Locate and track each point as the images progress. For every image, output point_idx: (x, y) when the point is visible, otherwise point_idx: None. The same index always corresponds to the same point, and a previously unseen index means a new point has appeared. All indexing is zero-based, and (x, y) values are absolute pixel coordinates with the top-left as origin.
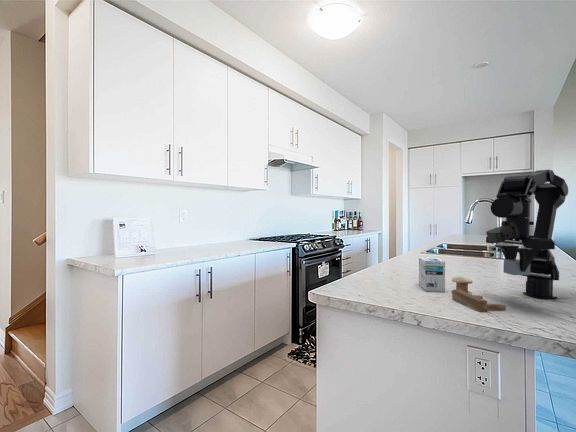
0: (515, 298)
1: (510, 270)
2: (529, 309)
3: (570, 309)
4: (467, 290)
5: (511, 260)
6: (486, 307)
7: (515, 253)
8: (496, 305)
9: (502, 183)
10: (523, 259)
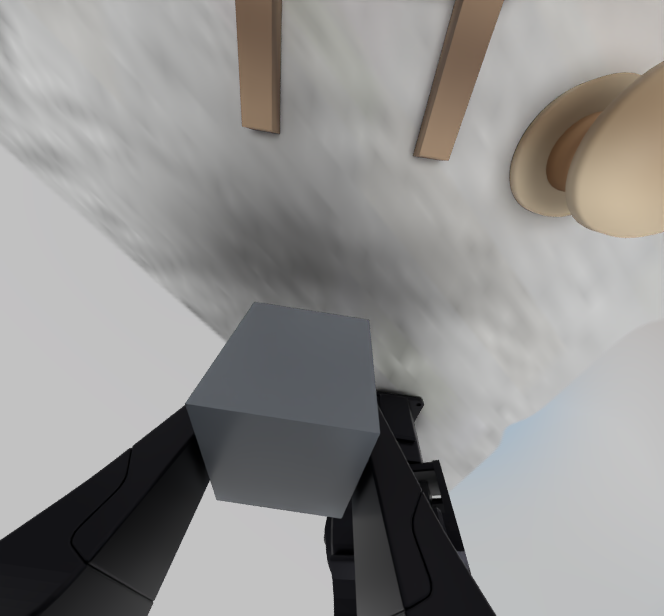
0: (392, 338)
1: (285, 327)
2: (266, 261)
3: None
4: (556, 172)
5: (274, 435)
6: None
7: (360, 602)
8: (238, 49)
9: None
10: (109, 470)
